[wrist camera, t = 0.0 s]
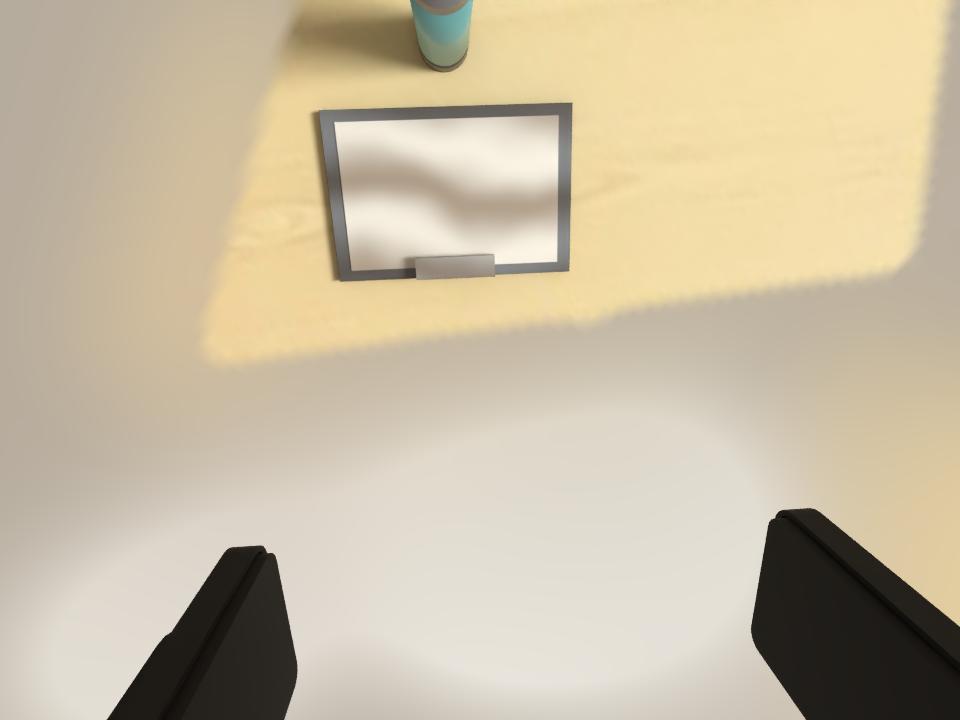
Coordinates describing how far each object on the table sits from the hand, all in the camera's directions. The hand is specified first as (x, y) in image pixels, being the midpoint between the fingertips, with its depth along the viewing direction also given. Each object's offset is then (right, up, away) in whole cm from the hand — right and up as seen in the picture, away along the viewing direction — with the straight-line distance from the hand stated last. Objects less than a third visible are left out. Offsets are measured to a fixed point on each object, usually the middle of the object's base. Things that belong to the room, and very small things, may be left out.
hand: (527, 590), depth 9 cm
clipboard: (-3, +17, +27) cm, 32 cm away
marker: (-3, +26, +24) cm, 36 cm away
